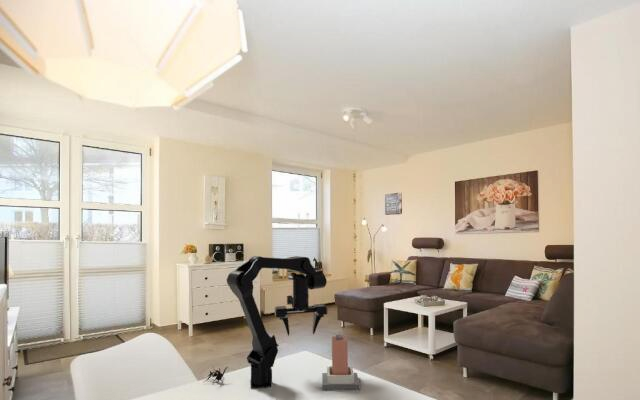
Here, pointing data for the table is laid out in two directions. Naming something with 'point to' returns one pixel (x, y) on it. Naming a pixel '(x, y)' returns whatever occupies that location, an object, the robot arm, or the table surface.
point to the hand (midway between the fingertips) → (301, 334)
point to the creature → (219, 375)
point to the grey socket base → (340, 380)
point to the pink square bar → (339, 355)
